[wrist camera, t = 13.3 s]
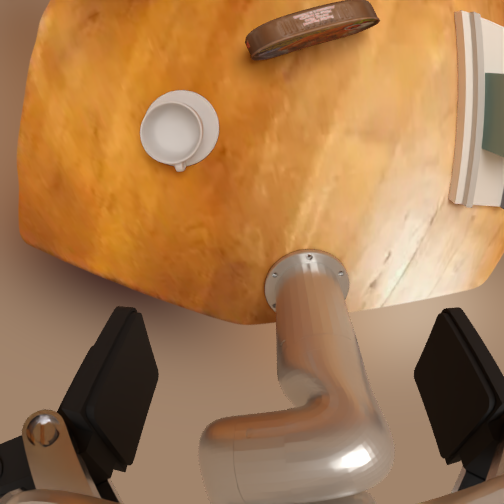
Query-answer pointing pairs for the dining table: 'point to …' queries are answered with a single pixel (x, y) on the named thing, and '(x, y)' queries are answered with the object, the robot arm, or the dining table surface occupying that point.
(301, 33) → the tin
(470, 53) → the white railed tray
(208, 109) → the teacup
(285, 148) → the dining table surface
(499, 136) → the tea box
